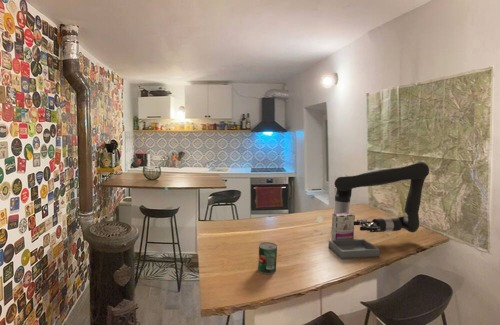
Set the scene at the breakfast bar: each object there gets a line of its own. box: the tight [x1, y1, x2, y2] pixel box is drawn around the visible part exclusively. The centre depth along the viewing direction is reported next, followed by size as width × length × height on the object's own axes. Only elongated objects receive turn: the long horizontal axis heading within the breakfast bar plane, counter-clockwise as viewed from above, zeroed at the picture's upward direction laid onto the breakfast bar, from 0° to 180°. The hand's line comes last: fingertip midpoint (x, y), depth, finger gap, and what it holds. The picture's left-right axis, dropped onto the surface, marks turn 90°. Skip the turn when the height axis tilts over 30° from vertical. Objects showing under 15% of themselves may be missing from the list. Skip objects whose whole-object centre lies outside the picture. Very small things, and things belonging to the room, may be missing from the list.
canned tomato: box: [257, 241, 278, 275], centre depth 129 cm, size 8×8×11 cm
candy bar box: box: [330, 212, 356, 240], centre depth 162 cm, size 11×5×16 cm, turn 105°
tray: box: [328, 238, 381, 260], centre depth 151 cm, size 14×20×4 cm
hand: (356, 225), depth 163 cm, fingers open, 8 cm apart
